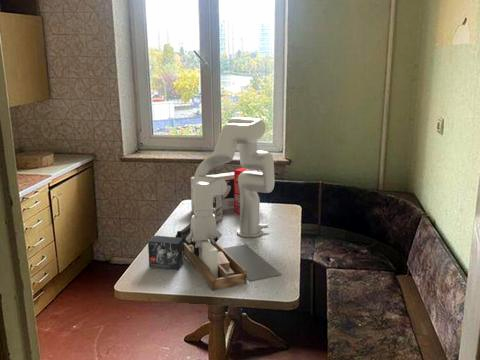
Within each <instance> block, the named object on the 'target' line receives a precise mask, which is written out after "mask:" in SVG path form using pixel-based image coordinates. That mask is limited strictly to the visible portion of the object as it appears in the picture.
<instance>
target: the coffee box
mask: <svg viewBox="0 0 480 360" xmlns="http://www.w3.org/2000/svg"><path fill="white" fill-rule="evenodd" d="M213 208H216V211H214V215H215V220H216V223H218V222H219V221H221V220H223V219H224V215H223V213H224V212H223V211H224V210H223V195H222V196H219V197H214V198H213Z"/></svg>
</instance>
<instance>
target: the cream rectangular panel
mask: <svg viewBox="0 0 480 360" xmlns="http://www.w3.org/2000/svg"><path fill="white" fill-rule="evenodd" d="M192 241H194V239H193V238H192ZM198 247H199V257H198V258H199V259H200V260H201V261H202V262H203V263H204V265H205V266H206V267H207V268H208V269H209V270H210V271H211V272H212V274H213V275H214V276H215V279H216V278H218V251H217V249H216V248H215V247H214V246H213V245H212V244H211V243H210V240H209V239H208V240H201V241H199V244H198ZM192 251H193V252H194V246H193V245H192Z"/></svg>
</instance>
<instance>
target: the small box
mask: <svg viewBox="0 0 480 360" xmlns="http://www.w3.org/2000/svg"><path fill="white" fill-rule="evenodd" d="M147 246H148V247H147V248H148V268H150V269H159V270H160V269H161V270H170V271H171V270H172V271H180V270H181V268H182V266H183V264H184V255H183V238H178V237H175V236H164V235H152V236H151V237H150V239H149V240H148V241H147Z"/></svg>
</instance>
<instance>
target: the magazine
mask: <svg viewBox="0 0 480 360" xmlns="http://www.w3.org/2000/svg"><path fill="white" fill-rule="evenodd" d="M190 228H191V222H190V223H188V225H186V226H185V227H184V228H182V229H181V230H177V232H176V235H175V236H174V237H178V238H183V243H186V244H187V245H191V244H190V243H189V242H187V241H186V238H187V237H188V235H189V234H190ZM191 240H192V238H191Z"/></svg>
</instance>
